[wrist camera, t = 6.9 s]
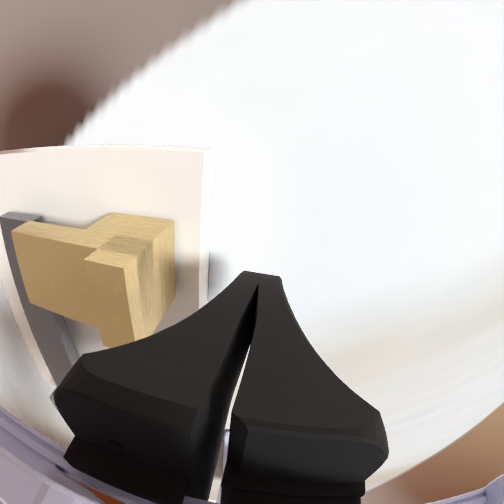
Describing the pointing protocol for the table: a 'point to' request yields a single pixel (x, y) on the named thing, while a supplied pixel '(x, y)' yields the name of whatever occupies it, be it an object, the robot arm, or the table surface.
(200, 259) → the board
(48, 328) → the dark grey flat bar
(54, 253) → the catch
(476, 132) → the table surface
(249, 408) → the robot arm
